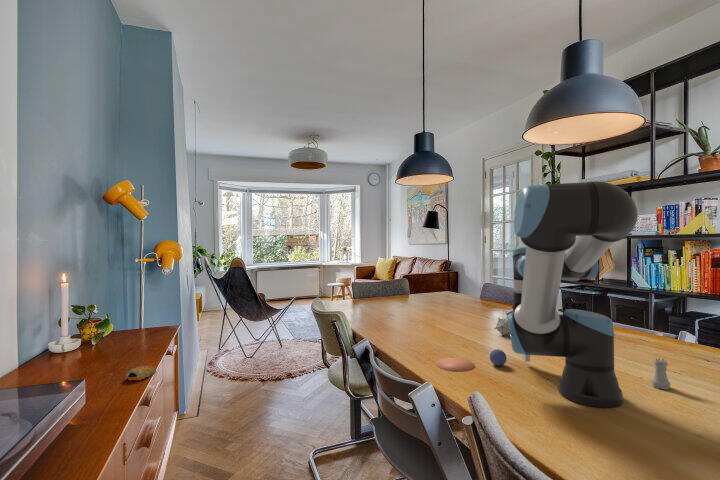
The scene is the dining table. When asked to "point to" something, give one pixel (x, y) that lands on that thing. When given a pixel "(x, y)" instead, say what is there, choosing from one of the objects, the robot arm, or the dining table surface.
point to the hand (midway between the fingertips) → (526, 360)
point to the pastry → (141, 372)
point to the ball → (498, 357)
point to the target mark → (455, 364)
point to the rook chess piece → (660, 375)
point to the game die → (503, 326)
